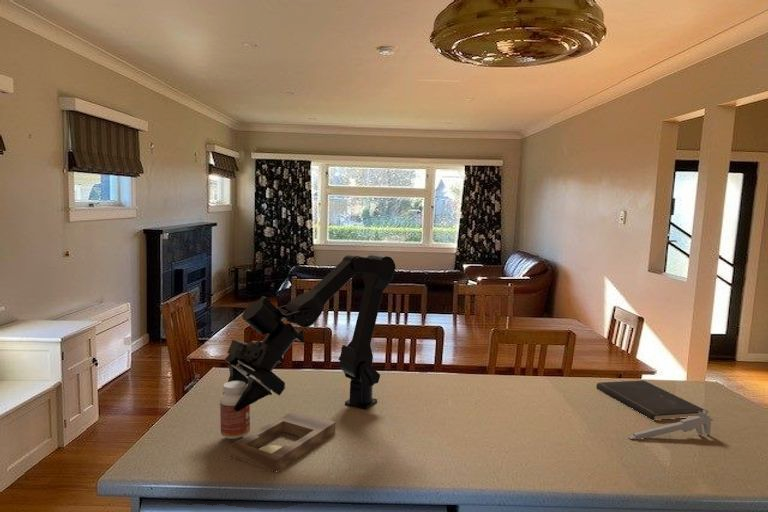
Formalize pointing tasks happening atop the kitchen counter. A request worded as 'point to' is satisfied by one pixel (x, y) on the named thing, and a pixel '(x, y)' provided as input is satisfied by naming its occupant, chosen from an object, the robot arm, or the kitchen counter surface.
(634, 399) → the hardcover book
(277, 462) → the wooden rectangular frame
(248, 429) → the pill bottle
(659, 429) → the caliper
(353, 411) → the kitchen counter surface
